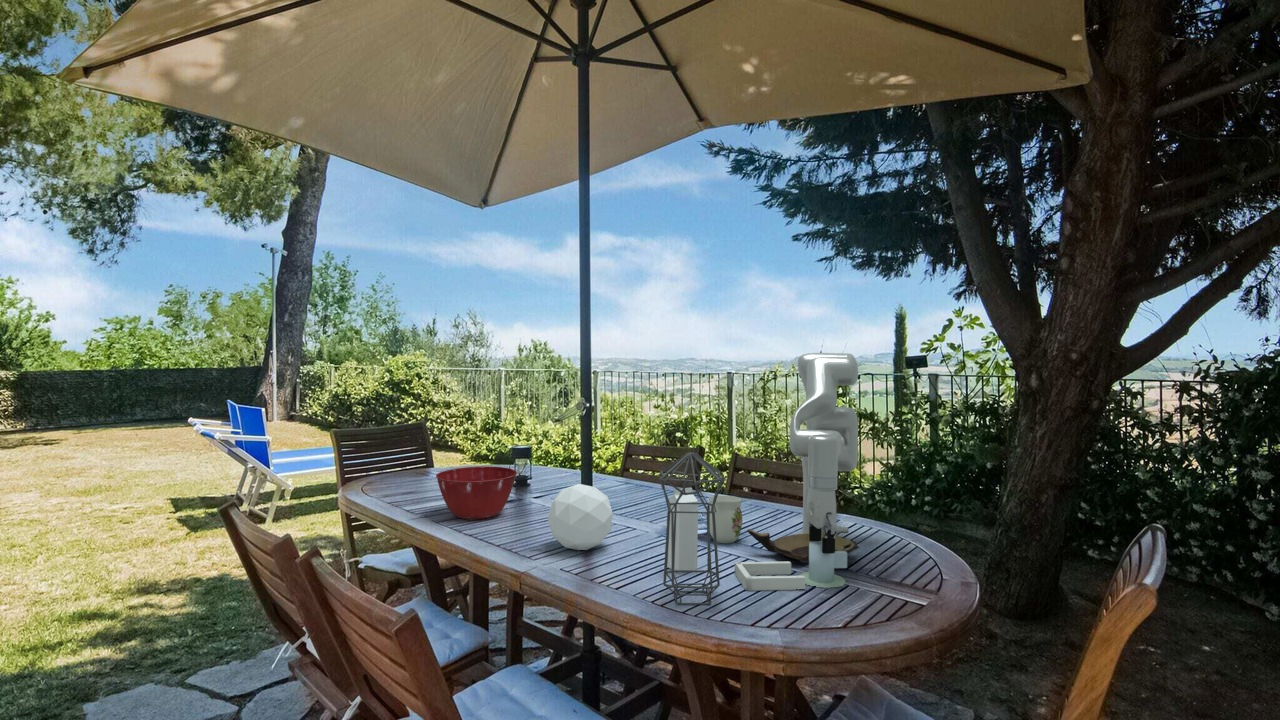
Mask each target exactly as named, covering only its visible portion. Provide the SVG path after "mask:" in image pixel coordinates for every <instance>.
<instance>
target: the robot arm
mask: <svg viewBox="0 0 1280 720" xmlns="http://www.w3.org/2000/svg"><path fill="white" fill-rule="evenodd" d="M797 369H798V375H799V376H800V380H801V382H802V385H803V386H804V387H803V388H804V390H805V391H804V392H805V400H804V401H803V402H802V403H801V404H800V405H799V406H797V408H796V410H795V411H794V413H793V414H792V415H791V419H790V424H789V448H790V452H791V453H792V454H793V455H794V456H796V457H800V458H801V467H802V481H803V485H802V488H803V489H802V491H803V492H802V495H803V496H802V498H803V499H802V530H799V532H797V534H809V540H810V541H821V534H823V536H824V537H823V538H822V553H824V554H830V553H835V538H836V536H839V534H849V532H850V531H849V526H848V527H847V526H845V527H844V526H841V525H837V499H836V491H837V490H838V477H839V476H838V475H839V473H838V472H853V471H854V470H855V469H856V468H857V466H858V460H859V459H858V458H859V457H858V456H859V424H858V422H859V421H858V415H857V413H856V411H855V410H854V408H851V407H847V406H836V405H838V392H837V390H838V389H837V386H854V385H855V384H856V383H857V382H858V380H859V379H858V378H859V366H858V362H857V360H856V358H855V356H854V355H853V354H852V353H848V352H847V353H844V352H842V353H841V352H840V353H839V352H838V353H836V352H812V353H811V352H810V353H804V354H801V355H800V356H799V357H798V360H797ZM804 423H805V429H804V428H802V429H801V425H803V424H804Z"/></svg>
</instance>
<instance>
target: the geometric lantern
mask: <svg viewBox="0 0 1280 720" xmlns="http://www.w3.org/2000/svg"><path fill="white" fill-rule="evenodd" d="M696 461H697V462H698V463H699V464H700V465H701V466H702V468H704V469H705V470H702V471H700V470H699V467H698V465H697V462H696ZM685 462H686V463H685ZM683 463H685V468H684V470H683V471H684V472H682V471H677V470H678V469H679V468H680V467H681V466H682V465H683ZM690 465H691V473H689V472H690ZM695 470H696V473H695ZM721 473H722V471H721V470H720V469H718V468H717V467H715V466H714V465H712V464H711V463H709V462H708V461H707V460H705V459H704V458H702V456H700V455H699V454H698V453H697V452H692V451H691V452H687V453H685V454H684V455H682V456H681V457H680V458H677V459H676V460H675V461H673V462H672V463H671V464H669V465H667V466H665V467H664V468H663V469H662V470H660V471H659V476H660V477H659V478H658V479H659V483H660V485H661V489H662V490H663V495H664V499H665V502H666V507H667V513H666V531H665V532H666V533H665V547H664V565H663V566H664V568H663V582H662V585H663V587H666V588H667V589H668V590H670V592H672V594H673V596H674V600H675V601H676V602H675V604H676V603H678V604H677V605H680V604H692V605H693V606H694V604H695V605H697V606H700V605H702V606H704V605H705V606H710V604H712V594H713V593H714V592H715V591H716V590H717V589H718V588H719V587H720V586H721V581H720V580H721V579H720V569H719V555H718V542H717V538H716V523H715V512H717V511H716V508H715V502H716V499H717V497H718V496H719V493H720V492H722V491H723V482H727V481H728V480H727V478H726V477H724V476H723V475H722V474H721ZM674 474H676V475H683V476H682V478H680V477H678V476H676V475H674ZM701 474H707V475H705V476H704V477H703V478H701ZM668 475H669V476H668ZM667 476H668V477H667ZM686 476H687V477H686ZM710 476H712V477H714V478H715V479H708V478H709V477H710ZM671 477H672V478H671ZM690 477H692V478H693V479H690ZM696 477H698V479H697V480H696ZM706 479H708V480H706ZM665 482H666V483H667V484H668V485H669V486H671V487H672V488H674V490H675V489H676V490H678V491H679V492H680V495H679V497H678V499H677V501H676V503H670V502H669V497H668V494H667V491H666V486H665ZM672 482H674V483H675V482H677V483H681V485H682V488H683V489H682V488H679V487H678V486H676V485H675V484H674V483H672ZM706 483H709V484H706ZM701 484H706V485H705V486H703V487H702V488H699V487H698V486H699V485H701ZM714 484H716V490H715V492H714V495H713V496H714V499H713V503H712V504H710V502H708V501H707V499H706V498H705V496H704V495H703V492H702V491H704V490H706V489H707V488H710V487H711V486H713V485H714ZM687 486H694V487H695V491H692V492H688V493H686V492H685V488H687ZM680 489H682V490H680ZM683 491H684V492H683ZM691 494H693V495H697V496H698V498H699V500H700V502H698V503H678V501H679V500H680V498H681V497H682V495H691ZM677 504H698V505H703V508H704V509H705V510H706V511H698V512H685V511H677ZM671 505H674V506H673V507H672V509H671ZM710 506H712V507H711V511H710ZM674 507H675V511H672V510H673V508H674ZM714 510H715V512H714ZM670 513H671V546H672V569H671V570H668V546H669V528H670ZM676 513H698V514H705V515H706V530H707V532H706V533H707V536H706V537H707V569H699V570H698V569H697V570H674V562H675V537H676ZM710 513H712V522H713V536H714V539H713V548H714V550H713V551H714V563H715V571H714V570H712V553H711V551H712V550H711V534H710ZM677 572H684V573H707V574H706V576H705V578H704V582H697V583H696V582H695V583H692V582H691V583H678V580H677V578H676V574H675V573H677ZM669 574H671V577H670V575H669ZM713 575H714V577H713ZM667 577H668V579H669V580H670V581H671V584H667ZM708 577H709V581H708V582H707V583H706V581H707V579H708ZM715 579H716V583H717V584H715V585H713V582H714V580H715ZM672 588H673V589H672ZM679 589H693V590H679ZM694 589H698V590H694ZM678 596H679V600H678ZM682 596H689V597H690V596H693V597H694V596H701V597H704V596H705V597H706V602H682ZM678 601H679V602H678Z"/></svg>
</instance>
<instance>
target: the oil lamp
mask: <svg viewBox="0 0 1280 720" xmlns="http://www.w3.org/2000/svg"><path fill="white" fill-rule="evenodd" d="M746 531H747V533H748V534H749V535H750V536H751V537H753V538H754V539H755V541H757V542H758V543H759V544H760V545H762V546H763V547H764V548H765V549H766V550H767V551H768V552H771V553H773V554H774V553H779V554H781V555H784V556H785V557H787V558H791V559H793V560H797V561H800V562H806V563H809V543H810V542H813V541H810V540H809V534H798V533H797V534H790V535H785V536H781V537H778V538H776V539H775V540H771V538H770V537H771V535H770V532H763V533H762V532H758V531H754V530H753V529H750V528H748V529H747V530H746ZM823 537H824V536H823V534H821V541H822V538H823ZM859 548H860V546H859V545H858V543H857V542H856V541H853V540H852V539H851V540H850V539H848V538H845V537H842V536H839V535H838V536H836V538H835V551H846V552H847V555H848V554H850V553H852V552H854V551H855V550H857V549H859Z"/></svg>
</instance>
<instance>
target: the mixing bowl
mask: <svg viewBox="0 0 1280 720" xmlns="http://www.w3.org/2000/svg"><path fill="white" fill-rule="evenodd" d="M517 474H518V471H517V470H515V469H513V468H510V467H509V468H508V467H503V466H470V467H469V466H468V467H458V468H453V469H447V470H443V471H440V472H438V473H436V475H435V478H436V480H437V483H438V487H439V490H440V493H441V496H442V498H443V501H444V503H445V505H446V507H447V508H448V510H449V511H450V513H452V515H454V516H456V517H457V518H459V517H460V518H459V519H461V518H464V519H463V520H466V519H480V520H485V518H487V519H491V518H493V517H495V516H497V514H499V513H500V512H501V511H502V510H503V509H504V507H505V506H506V505H507V502H508V501H509V498H510V495H511V494H512V490H513V487H514V484H515V480H516V476H517Z"/></svg>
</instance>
